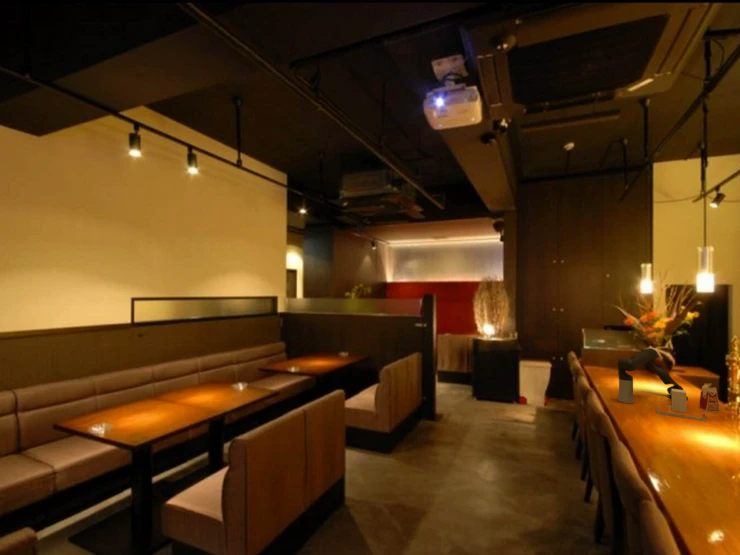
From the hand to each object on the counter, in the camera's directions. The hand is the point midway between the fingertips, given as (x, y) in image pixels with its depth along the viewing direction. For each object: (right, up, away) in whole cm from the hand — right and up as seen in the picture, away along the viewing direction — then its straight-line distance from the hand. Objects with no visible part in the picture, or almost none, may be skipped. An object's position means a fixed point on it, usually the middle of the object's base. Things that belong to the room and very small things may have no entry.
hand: (678, 400), depth 285 cm
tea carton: (-3, -6, -4) cm, 8 cm away
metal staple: (-10, -6, -14) cm, 18 cm away
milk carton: (+19, -6, -4) cm, 21 cm away
